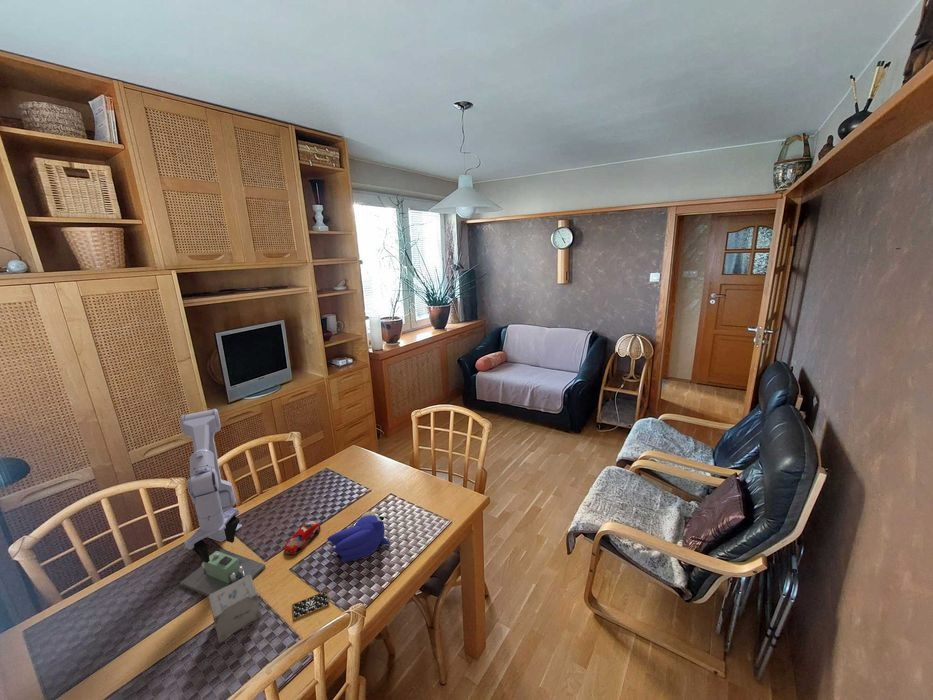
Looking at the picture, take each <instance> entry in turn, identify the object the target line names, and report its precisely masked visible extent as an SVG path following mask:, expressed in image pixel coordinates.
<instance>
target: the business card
mask: <svg viewBox="0 0 933 700" xmlns="http://www.w3.org/2000/svg"><path fill="white" fill-rule="evenodd" d="M291 607H292V609H291V611H292V621H293V622H295V621H297V620H300V619H302V618H305V617H306V616H307V617H308V616H310V615H312V614H313V613H315V612H316V613H317V612H318V611H321V610H323V609H325V608H328V607H330V600H329V595H328V590H324V591H322V592H319V593H317V594H314V595H311V596H309V597H306V598H305V599H302V600H300V601H297V602H295V603H292V604H291Z"/></svg>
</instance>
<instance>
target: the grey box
mask: <svg viewBox="0 0 933 700" xmlns="http://www.w3.org/2000/svg"><path fill="white" fill-rule="evenodd" d="M259 598H260V597H259V595H258V592H257V589H256V586H255V584H254V580H253V579H252V577H251V575H248V576H246V577H244V578H242V579H240V580H238V581H236V582H234V583H232V584H230V585H228V586H226V587H224V588H222V589H220V590H218V591H216V592H214V593H212V594H210V595H209V597H208V603H209V606H210V610H211V611H210V612H211V614H212V620H213V623H214V626H215V629H216V634H217V640H218V644H221V643H224V641H227V639H229V638H230V636H231V635H233V634H234V633H235V632H237V631H239V630H240V629H242V628H244V627H245V626H247V625H248V624H250V623H252V622H256V621H257V620H259V619H260V618H261V617H262V616H263V614H262V611H261V607H260V602H259V601H260V600H259Z"/></svg>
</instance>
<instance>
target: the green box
mask: <svg viewBox="0 0 933 700" xmlns="http://www.w3.org/2000/svg"><path fill="white" fill-rule="evenodd" d="M209 559H210V561H209V562H208V563H206V562H204V566H205V570H206V574H207V575H209V576H212V577H214V578H217V579H219V580H222V581H224V582H227V583H230V582H231V577H230V574H231V573H233V572H235V575H236V576H238V575H239V572H238V567H239V566H240V565H239V560H238V558H235V557H232V556H230V555H227V554H224V553H221V552H220V551H218V550H215V551H214V552H213V553H211V554H210V555H209Z"/></svg>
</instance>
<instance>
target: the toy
mask: <svg viewBox="0 0 933 700" xmlns="http://www.w3.org/2000/svg"><path fill="white" fill-rule="evenodd" d="M384 520H385V517H384V516H378V515H376V513H374V512H372V511H366V512H364V513H362V515H361V516H360V518H359V519H358V520H357V522H355V524H354V526H353V527H349V528H346V529H343V530H340V531H338V532H335V533H334V534H331V535H329V536H328V537H327V538H326V540H327V541H328V542H330V543H331V544H332V545H333V546H335V547H333V549H332V551H333V552H334V553H336V554H339V556H340V557H341V559H340V561H341V562H352V561H357V560H361V559H364V558H367V557H368V556H370V555H371V554H373V553H374V552H375V551H377V549H378V548H379V547H378V546H379V545H383V546H385V545H386V546H390V545H391V543H390V542H389V541H388V539H387V538H385V533H386V532H385V531H386V530H385V524H384V522H385V521H384Z"/></svg>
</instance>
